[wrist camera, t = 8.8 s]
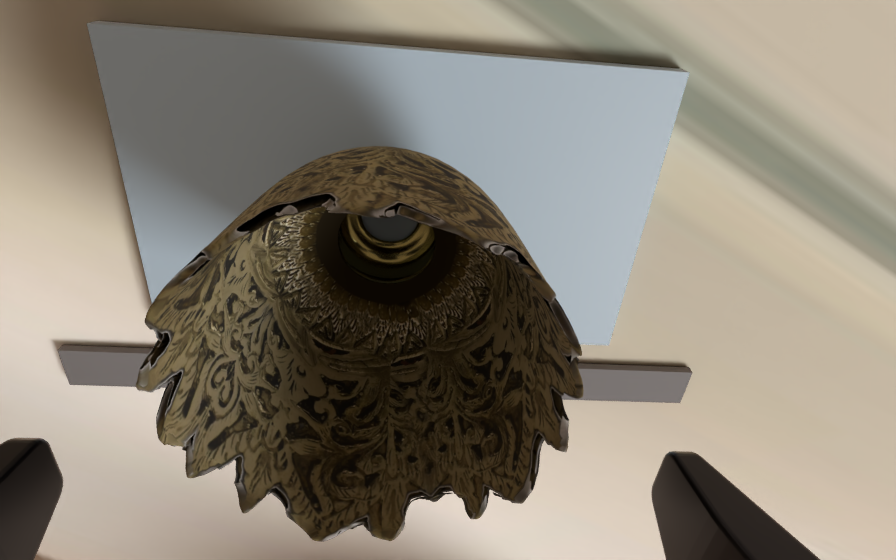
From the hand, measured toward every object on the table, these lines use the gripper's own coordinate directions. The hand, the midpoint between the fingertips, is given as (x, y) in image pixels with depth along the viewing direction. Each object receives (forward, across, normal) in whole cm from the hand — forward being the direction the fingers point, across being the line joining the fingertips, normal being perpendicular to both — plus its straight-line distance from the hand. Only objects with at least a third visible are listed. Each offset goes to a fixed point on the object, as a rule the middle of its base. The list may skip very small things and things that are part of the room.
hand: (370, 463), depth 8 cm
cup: (+9, 0, 0) cm, 9 cm away
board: (+10, 0, 0) cm, 10 cm away
